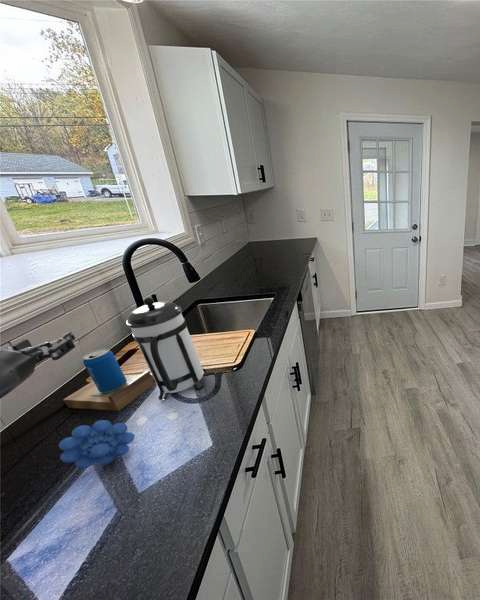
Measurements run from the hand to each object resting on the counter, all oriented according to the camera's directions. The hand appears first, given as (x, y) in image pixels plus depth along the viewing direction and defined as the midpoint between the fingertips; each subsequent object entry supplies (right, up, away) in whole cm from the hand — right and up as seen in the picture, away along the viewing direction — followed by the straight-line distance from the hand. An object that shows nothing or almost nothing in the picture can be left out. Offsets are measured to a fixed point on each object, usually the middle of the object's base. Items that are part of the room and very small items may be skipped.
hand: (50, 339), depth 75 cm
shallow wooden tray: (-4, -20, +20) cm, 29 cm away
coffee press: (+18, -18, +22) cm, 33 cm away
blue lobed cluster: (+18, -29, -3) cm, 34 cm away
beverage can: (-2, -17, +19) cm, 25 cm away
